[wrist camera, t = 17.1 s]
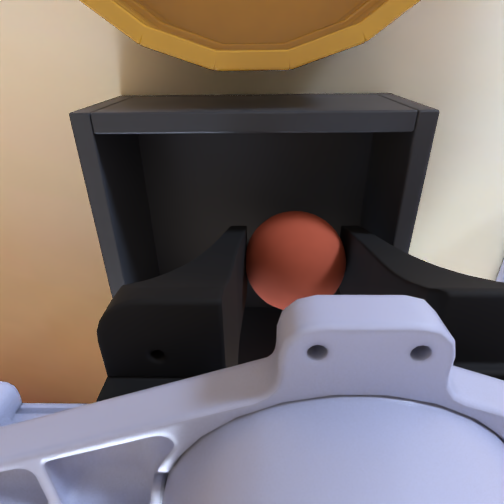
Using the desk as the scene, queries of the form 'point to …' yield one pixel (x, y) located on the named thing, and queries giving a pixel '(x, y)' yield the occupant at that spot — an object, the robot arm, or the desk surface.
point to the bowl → (250, 28)
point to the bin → (246, 176)
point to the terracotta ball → (294, 258)
